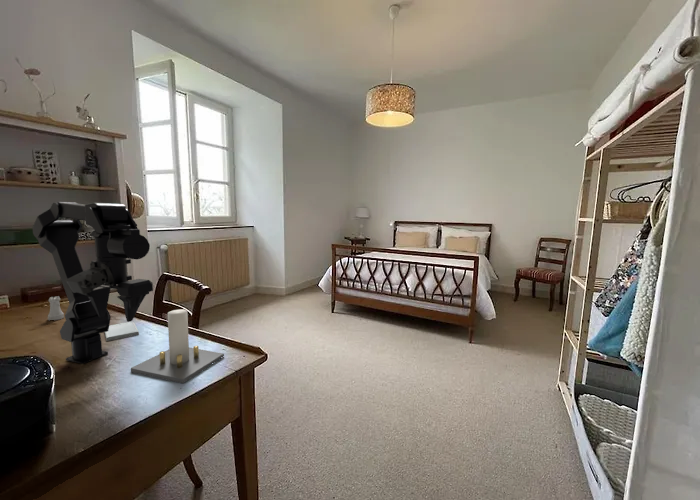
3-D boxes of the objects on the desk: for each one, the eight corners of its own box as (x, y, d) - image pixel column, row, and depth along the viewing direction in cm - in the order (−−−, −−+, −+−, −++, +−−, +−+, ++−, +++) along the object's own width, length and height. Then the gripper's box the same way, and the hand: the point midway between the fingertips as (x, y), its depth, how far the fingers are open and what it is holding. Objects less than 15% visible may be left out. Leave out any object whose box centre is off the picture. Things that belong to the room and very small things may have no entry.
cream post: (167, 365, 77) (165, 315, 75) (173, 357, 81) (170, 309, 79) (186, 363, 78) (184, 314, 76) (191, 355, 82) (189, 309, 80)
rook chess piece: (52, 317, 111) (50, 295, 110) (67, 316, 113) (65, 295, 112) (44, 321, 107) (42, 299, 106) (60, 320, 108) (58, 298, 107)
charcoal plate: (130, 371, 75) (129, 356, 74) (177, 348, 88) (177, 335, 88) (183, 383, 70) (182, 367, 70) (224, 356, 84) (223, 343, 83)
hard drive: (138, 331, 97) (133, 320, 107) (106, 337, 92) (103, 326, 101) (139, 336, 98) (133, 325, 107) (106, 343, 92) (104, 330, 101)
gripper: (43, 258, 68) (49, 325, 69) (104, 263, 62) (109, 336, 64) (96, 252, 78) (101, 311, 80) (153, 256, 73) (156, 319, 75)
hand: (115, 319), depth 75 cm, fingers open, 9 cm apart
